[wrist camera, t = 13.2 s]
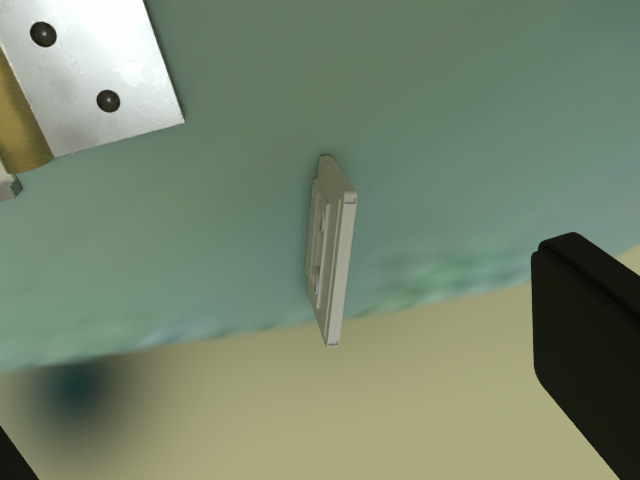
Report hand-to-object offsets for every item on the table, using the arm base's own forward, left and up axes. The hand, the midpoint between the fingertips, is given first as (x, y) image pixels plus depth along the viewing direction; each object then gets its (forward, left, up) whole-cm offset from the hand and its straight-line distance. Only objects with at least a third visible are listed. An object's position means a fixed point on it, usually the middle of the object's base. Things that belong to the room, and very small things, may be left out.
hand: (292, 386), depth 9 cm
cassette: (-4, +13, -31) cm, 33 cm away
